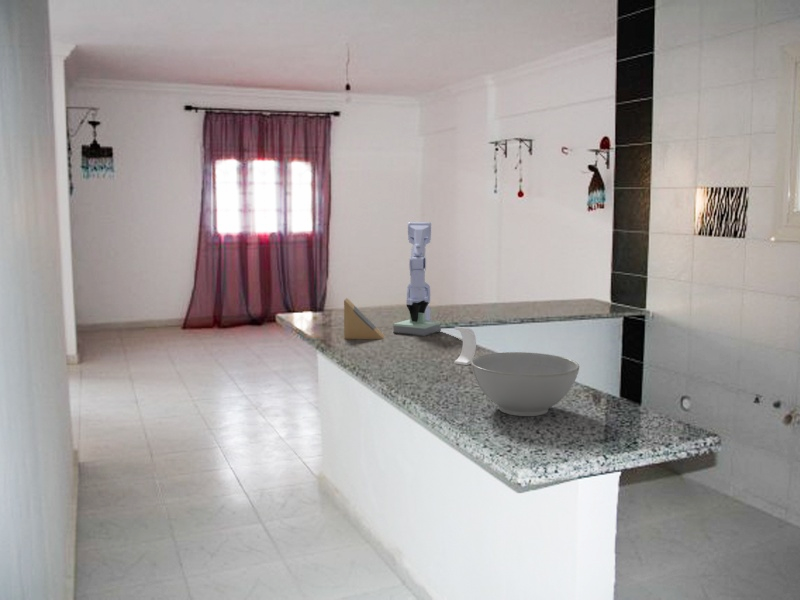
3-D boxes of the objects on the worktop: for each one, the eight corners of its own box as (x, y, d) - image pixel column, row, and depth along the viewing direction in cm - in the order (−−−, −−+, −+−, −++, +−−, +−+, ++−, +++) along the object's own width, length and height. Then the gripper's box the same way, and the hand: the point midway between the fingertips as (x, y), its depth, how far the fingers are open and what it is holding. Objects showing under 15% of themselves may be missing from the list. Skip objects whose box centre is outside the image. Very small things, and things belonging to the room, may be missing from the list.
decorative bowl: (448, 405, 192) (449, 359, 191) (524, 391, 208) (525, 348, 206) (522, 432, 171) (523, 380, 169) (600, 413, 186) (602, 365, 184)
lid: (410, 322, 310) (410, 309, 310) (440, 325, 303) (440, 311, 303) (393, 327, 298) (393, 313, 298) (424, 330, 291) (424, 316, 291)
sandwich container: (384, 339, 286) (384, 300, 284) (344, 339, 286) (343, 300, 284) (385, 335, 294) (385, 297, 292) (346, 335, 295) (346, 297, 293)
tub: (410, 328, 311) (410, 320, 310) (440, 330, 304) (440, 323, 303) (393, 333, 299) (393, 325, 298) (424, 336, 292) (424, 328, 291)
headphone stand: (454, 363, 243) (454, 326, 241) (463, 360, 248) (464, 324, 246) (466, 365, 240) (467, 328, 239) (475, 362, 245) (476, 325, 244)
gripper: (417, 289, 291) (417, 324, 292) (434, 285, 303) (434, 319, 305) (401, 288, 294) (401, 322, 296) (419, 284, 306) (419, 317, 308)
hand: (417, 320), depth 301 cm, fingers open, 4 cm apart
